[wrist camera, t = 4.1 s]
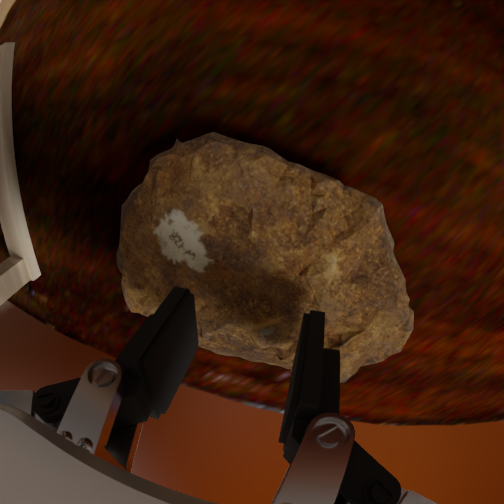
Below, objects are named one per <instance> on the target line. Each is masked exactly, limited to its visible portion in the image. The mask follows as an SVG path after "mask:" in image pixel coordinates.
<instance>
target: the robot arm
mask: <svg viewBox="0 0 504 504" xmlns="http://www.w3.org/2000/svg"><path fill="white" fill-rule="evenodd" d="M324 332H325V312H322V311H315V310H310V312H309V314H308V313H304V314H303V319H302V324H301V329H300V334H299V339H298V343H297V348H296V352H295V357H294V361H293V367H292V372H291V378H290V384H289V390H288V395H287V401H286V406H285V412H284V417H283V422H282V427H281V432H280V437H279V442H280V443H284V447H283V451H284V455H283V457H284V458H285V459H286V460H287V461H288V463H289V464H290V465H289V467H288V470H287V472H286V474H285V476H284V478H283V481H282V483H281V485H280V487H279V489H278V491H277V493H276V495H275V497H274V499H273V501H272V503H271V504H437V503H435V502H433V501H431V500H428V499H427V498H425V497H423V496H421V495H419V494H417V493H415V492H413V491H411V490H409V491H406V490H404V489H402V488H401V486H400V483H399V482H398V480H397V479H396V478H395V477H394V476H393V475H392V474H390V473H389V472H388V471H387V470H386V469H385V468H384V467H383V466H381V465H380V464H379V463H378V462H377V461H376V460H375V459H374V458H373V457H372V456H371V455H369V454H368V453H367V452H366V451H365V450H364V449H363V448H362V447H361V446H360V445H359V444H358V443H357V442H356V441H355V440H354V438H355V430H354V427H353V425H352V423H351V422H350V420H349V419H347V418H346V417H345V416H343V415H340V414H339V400H340V350H337V349H329V348H324ZM198 345H199V340H198V331H197V321H196V310H195V299H194V294H193V293H190V290H189V289H187V288H182V287H177V286H175V287H174V288H173V289H172V290H171V291H170V293H169V294H168V295H167V297H166V298H165V299H164V301H163V302H162V303H161V305H160V306H159V307H158V309H157V310H156V311H155V313H154V314H151V315H149V316H148V317H147V318H146V320H145V321H144V322H143V324H142V325H141V326H140V328H139V329H138V330H137V332H136V333H135V334H134V336H133V337H132V338H131V340H130V341H129V343H128V344H127V345H126V347H125V348H124V349H123V351H122V352H121V354H120V355H119V356H118V358H117V359H116V360H115V361H113V360H110V359H99V360H96V361H94V362H92V363H91V364H90V365H88V367H87V368H86V369H85V371H84V373H83V375H82V377H81V378H77V379H73V380H69V381H65V382H61V383H57V384H53V385H49V386H45V387H43V388H40V389H39V390H38V391H37V392H36V393H35V392H34V391H32V390H30V391H0V504H217V503H213V502H210V501H206V500H203V499H199V498H196V497H192V496H189V495H186V494H183V493H180V492H177V491H174V490H171V489H168V488H166V487H163V486H161V485H158V484H155V483H153V482H150V481H148V480H145V479H143V478H141V477H138V476H136V475H134V474H131V469H132V465H133V460H134V457H135V453H136V449H137V445H138V441H139V438H140V434H141V430H142V426H143V422H145V421H147V419H148V417H149V416H150V417H154V418H156V419H158V418H159V417H160V415H161V413H162V414H164V413H166V411H167V410H168V408H169V406H170V403H171V401H172V399H173V397H174V395H175V393H176V391H177V389H178V387H179V385H180V383H181V381H182V379H183V377H184V375H185V373H186V371H187V369H188V367H189V365H190V363H191V361H192V359H193V357H194V355H195V353H196V351H197V349H198Z"/></svg>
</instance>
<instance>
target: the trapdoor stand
mask: <svg viewBox="0 0 504 504" xmlns="http://www.w3.org/2000/svg"><path fill="white" fill-rule="evenodd" d="M14 46H15V42H10V43H4V44H2V45H0V222H1V226H2V230H3V233H4V237H5V241H6V244H7V247H8V251H9V254H10V257H9V258H7V259H6V260H5V261H3V262H2V263H1V264H0V305H1V304H3V303H4V302H5V301H6V300H7V299H8V298H10V297H11V296H12V295H13V294H14V293H15V292H17V291H18V290H19V289H20V288H21V287H22V286H24V285H25V284H26V283H27V282H29V281H30V280H32V281H34V280H36V279H37V278H38V277H39V276H41V273H40V270H39V267H38V263H37V260H36V257H35V254H34V250H33V247H32V243H31V239H30V235H29V232H28V228H27V223H26V219H25V215H24V210H23V205H22V200H21V195H20V189H19V183H18V177H17V170H16V162H15V154H14V143H13V130H12V69H13V56H14Z"/></svg>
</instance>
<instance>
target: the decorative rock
mask: <svg viewBox="0 0 504 504" xmlns="http://www.w3.org/2000/svg"><path fill="white" fill-rule="evenodd" d="M393 248H394V241H393V239H392V236H391V234H390V231H389V229H388V227H387V224H386V220H385V216H384V210H383V204H382V203H380V202H379V201H378V200H377V199H376V198H374V197H371V196H369V195H367V194H364V193H362V192H360V191H358V190H356V189H353V188H351V187H348V186H344V185H343V184H342V183H341V182H340V181H339V180H337V179H335V178H333V177H330V176H328V175H325V174H322V173H319V172H315V171H313V170H311V169H308V168H306V167H304V166H302V165H300V164H297V163H292V162H288V161H287V160H285V159H284V158H282V157H281V156H280V155H278V154H277V153H275V152H274V151H272V150H271V149H269V148H267V147H265V146H262V145H256V144H249V143H246V142H242V141H239V140H236V139H233V138H229V137H226V136H224V135H221V134H218V133H216V132H211V133H208V134H206V135H203V136H201V137H198V138H195V139H193V140H190V141H187V142H184V143H182V142H180V141H179V140H178V139H177V140H176V142H175V144H174V146H173V147H172V148H171V149H170V150H167V151H165V152H162V153H160V154H158V155H157V156H155V157H154V158H152V159H151V160H150V165H149V171H148V173H147V175H146V176H145V178H144V181H143V183H141V184H140V185H139V186H137V187H136V188H135V189H133V191H132V192H131V193H130V195H129V197H128V198H127V200H126V201H125V202H124V203H123V205H122V209H121V230H120V242H119V247H118V251H117V266H118V268H119V270H120V272H121V274H122V276H123V277H122V281H121V284H122V289H123V294H124V298H125V301H126V303H127V305H128V307H129V309H130V311H131V312H136V313H140V314H142V315H145V316H147V317H148V316H149V315H151V314H154V313H155V311H156V310H157V309H158V307H159V306H160V305H161V303H162V302H163V301H164V299H165V298H166V297H167V295H168V294H169V293H170V291H171V290H172V289H173V288H174V287H175V286H177V287H182V288H187V289H189V290H190V293H193V294H194V299H195V310H196V321H197V331H198V340H199V345H198V347H201V348H204V349H207V350H210V351H212V352H214V353H216V354H221V355H226V356H239V357H241V358H244V359H246V360H249V361H254V362H265V363H268V364H271V365H279V366H281V367H284V368H286V369H291V372H292V367H293V361H294V357H295V352H296V348H297V343H298V339H299V334H300V329H301V324H302V319H303V314H304V313H308V314H309V312H310V310H315V311H322V312H325V332H324V348H329V349H337V350H340V383H344V382H345V381H347V380H348V379H349V378H350V377H351V376H352V375H353V374H355V373H356V372H357V371H358V369H359V368H360V366H365V365H369V364H374V363H378V362H381V361H384V360H385V359H386V358H387V357H389V356H390V355H393V354H395V353H398V352H400V351H401V350H402V348H403V346H404V345H405V343H406V341H407V339H408V338H409V335H410V333H411V332H412V330H413V322H414V311H413V310H412V309H411V308H410V307H409V306H408V304H409V300H410V299H409V297H408V295H407V293H406V280H405V278H404V276H403V273H402V271H401V269H400V267H399V265H398V263H397V261H396V258H395V256H394V253H393Z"/></svg>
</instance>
